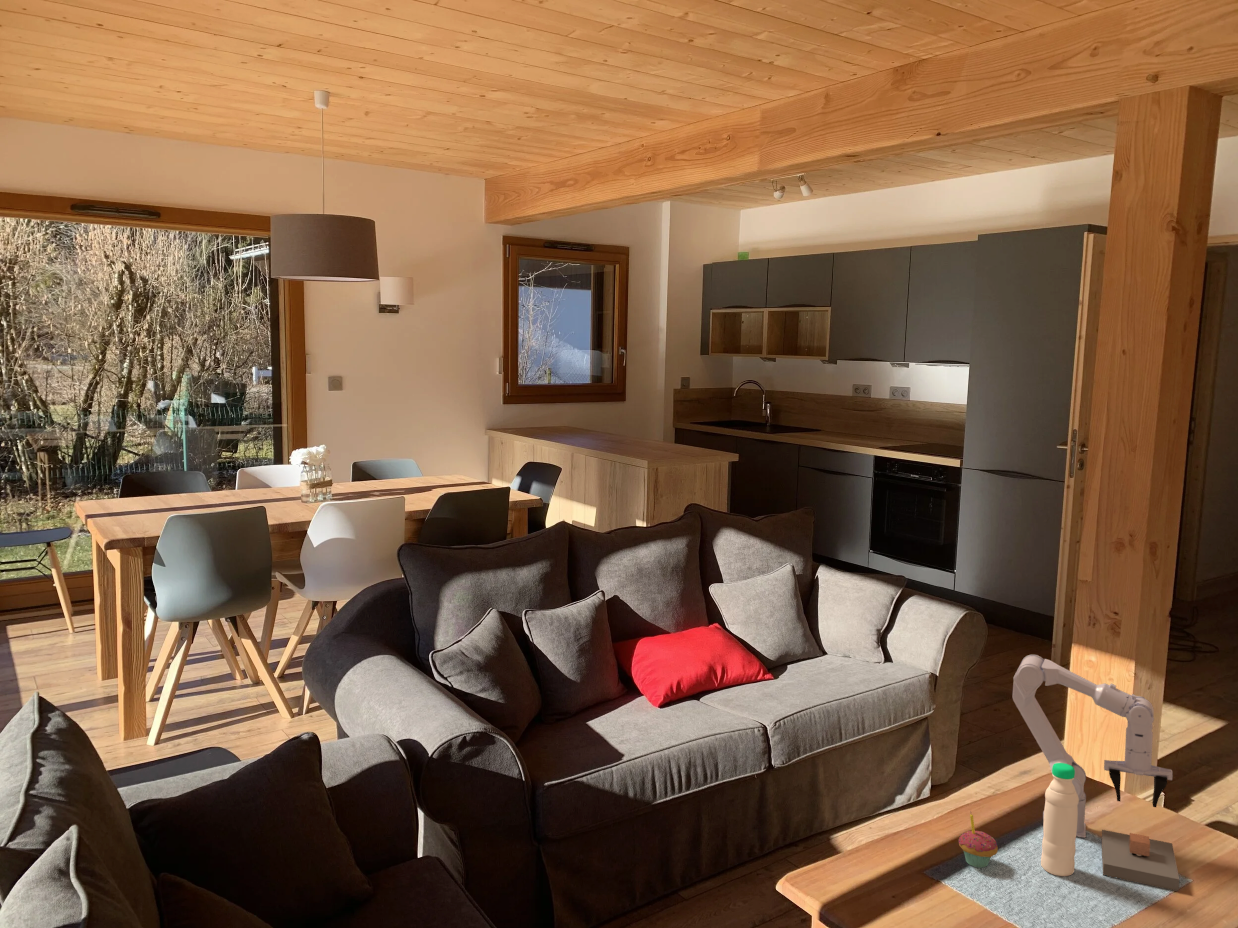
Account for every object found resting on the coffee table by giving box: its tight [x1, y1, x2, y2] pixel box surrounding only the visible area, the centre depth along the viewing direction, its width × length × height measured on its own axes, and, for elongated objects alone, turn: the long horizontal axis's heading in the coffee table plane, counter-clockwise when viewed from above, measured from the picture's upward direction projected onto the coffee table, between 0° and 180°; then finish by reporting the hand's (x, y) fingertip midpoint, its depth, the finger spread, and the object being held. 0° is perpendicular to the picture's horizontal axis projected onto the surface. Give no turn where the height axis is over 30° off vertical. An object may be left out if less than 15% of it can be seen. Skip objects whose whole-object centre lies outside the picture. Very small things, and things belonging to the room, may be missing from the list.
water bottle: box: [1040, 763, 1079, 877], centre depth 220 cm, size 7×7×25 cm
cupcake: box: [958, 811, 999, 869], centre depth 224 cm, size 9×8×12 cm
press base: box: [1100, 829, 1180, 892], centre depth 224 cm, size 15×18×3 cm
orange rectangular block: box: [1129, 832, 1150, 856], centre depth 224 cm, size 4×4×6 cm
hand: (1136, 802), depth 233 cm, fingers open, 7 cm apart
